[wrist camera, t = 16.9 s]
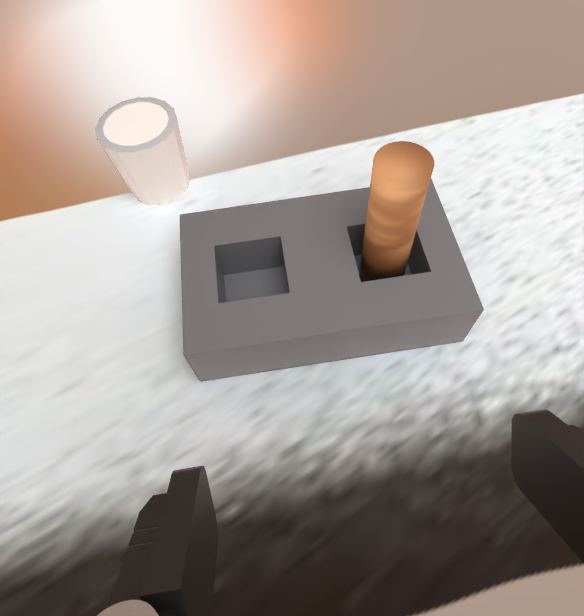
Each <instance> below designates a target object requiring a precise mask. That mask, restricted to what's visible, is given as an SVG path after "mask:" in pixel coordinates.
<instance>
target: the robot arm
mask: <svg viewBox="0 0 584 616" xmlns="http://www.w3.org/2000/svg"><path fill="white" fill-rule="evenodd" d="M511 465H512V472H513V475H514V478H515V481H516V483H517V485H518V487H519V488H520V490H521V491H522V492H523V493H524V495H525V496H526V497H527V498H528V499H529V500H530V502H531V503H532V504H533V505H534V506H535V507H536V508H537V510H538V511H539V512H540V513H541V514H542V515H543V517H544V518H545V519H546V520H547V521H548V522H549V524H550V525H551V526H552V527H553V528H554V529H555V530H556V532H557V533H558V534H559V535H560V536H561V537H562V539H563V540H564V541H565V542H566V543H567V544H568V545H569V547H570V548H571V549H572V550H573V551H574V552H575V554H576V555H577V556H578V557H579V558H580V559H581V560H582V562H583V563H584V430H583V429H580V428H578V427H576V426H573V425H569V426H568V425H567V424H565V423H564V422H563V421H562V420H560V419H559V418H558V417H556V416H555V415H554V414H553V413H551V412H550V411H548V410H546V409H541V410H536V411H530V412H524V413H518V414H515V415H514V416H513V418H512V456H511ZM217 543H218V532H217V521H216V515H215V511H214V506H213V501H212V497H211V492H210V488H209V483H208V479H207V474H206V471H205V468H204V466H198V467H193V468H187V469H181V470H175V471H173V473H172V475H171V479H170V483H169V487H168V491H167V493H165V494H159V495H153V496H152V498H151V499H150V500H149V501H148V502H147V504H146V505H145V506H144V507H143V509H142V510H141V511H140V512H139V515H138V518H137V521H136V524H135V527H134V533H133V534H132V537H131V540H130V543H129V549H127V552H126V555H125V558H124V561H123V564H122V567H121V570H120V573H119V576H118V579H117V582H116V585H115V588H114V591H113V594H112V597H111V600H110V603H109V606H108V608H107V609H105V610H104V611H102V612H101V613H100V614H98V615H97V616H211V611H212V600H213V588H214V577H215V566H216V555H217Z"/></svg>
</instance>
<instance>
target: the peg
mask: <svg viewBox="0 0 584 616" xmlns="http://www.w3.org/2000/svg"><path fill="white" fill-rule="evenodd" d="M433 168H434V159H433V157H432V155H431V154H430V152H429V151H428V150H427V149H425V148H424V147H422V146H420V145H418V144H415V143H412V142H405V141H399V142H392V143H389V144H387V145H384V146H383V147H381V148H380V149H379V150H378V151H377V152H376V154H375V156H374V160H373V168H372V176H371V184H370V193H369V201H368V209H367V217H366V225H365V233H364V241H363V249H362V258H361V266H360V274H359V277H360V280H361V282H365V281H372V280H379V279H385V278H392V277H399V276H404V273H405V270H406V266H407V262H408V259H409V255H410V252H411V248H412V244H413V241H414V237H415V233H416V230H417V226H418V222H419V219H420V215H421V211H422V208H423V204H424V201H425V197H426V193H427V190H428V186H429V182H430V179H431V175H432V171H433Z"/></svg>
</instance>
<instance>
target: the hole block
mask: <svg viewBox="0 0 584 616" xmlns="http://www.w3.org/2000/svg"><path fill="white" fill-rule="evenodd" d="M369 193H370V187H369V188H362V189H355V190H348V191H341V192H334V193H327V194H320V195H313V196H306V197H299V198H292V199H285V200H279V201H272V202H265V203H258V204H251V205H244V206H237V207H230V208H223V209H216V210H209V211H202V212H195V213H188V214H182V215H180V241H181V277H182V313H183V349H184V356H185V358H186V359H187V361H188V362H189V364H190V365H191V367H192V368H193V370H194V371H195V373H196V374H197V376H198V377H199V379H200V380H201V381H207V380H213V379H220V378H226V377H233V376H239V375H246V374H252V373H259V372H265V371H272V370H278V369H285V368H291V367H298V366H304V365H311V364H317V363H324V362H330V361H337V360H343V359H350V358H356V357H363V356H369V355H376V354H382V353H389V352H395V351H402V350H408V349H415V348H421V347H428V346H434V345H441V344H447V343H454V342H461V341H463V340H464V338H465V337H466V335H467V334H468V332H469V331H470V329H471V328H472V326H473V325H474V324H475V322H476V321H477V319H478V318H479V316H480V315H481V313H482V312H483V310H484V309H483V306H482V304H481V301H480V299H479V296H478V294H477V291H476V289H475V287H474V284H473V282H472V279H471V277H470V274H469V272H468V269H467V267H466V264H465V262H464V259H463V257H462V254H461V252H460V249H459V247H458V244H457V242H456V239H455V237H454V234H453V232H452V229H451V227H450V224H449V222H448V219H447V217H446V214H445V212H444V209H443V207H442V204H441V202H440V199H439V197H438V194H437V192H436V189H435V187H434V184H433V182H432V179H430V182H429V186H428V190H427V193H426V197H425V201H424V204H423V208H422V211H421V215H420V219H419V222H418V226H417V230H416V233H415V237H414V241H413V244H412V248H411V252H410V255H409V259H408V262H407V266H406V270H405V273H404V276H399V277H392V278H385V279H379V280H372V281H365V282H361V280H360V277H359V274H360V266H361V258H362V249H363V241H364V233H365V225H366V217H367V209H368V201H369Z"/></svg>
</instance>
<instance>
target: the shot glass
mask: <svg viewBox="0 0 584 616" xmlns="http://www.w3.org/2000/svg"><path fill="white" fill-rule="evenodd" d="M95 130H96V135H97V140H98V141H99V143H100V144H101V146H102V147H103V149H104V150H105V152H106V153H107V155H108V156H109V158H110V159H111V161H112V162H113V164H114V165H115V167H116V168H117V170H118V171H119V173H120V174H121V176H122V178H123V179H124V181H125V182H126V183H127V185H128V187H129V188H130V190H131V191H132V193H133V194H134V195H135V196H136V197H137V198H138V199H139V201H141V202H144V203H147V204H149V205H162V204H165V203H169V202H172V201H174V200H175V199H177V198H178V197H180V196H181V195H182V194H183V193H184V192H185V190H186V189H187V188H188V185H189V180H190V178H189V173H188V168H187V164H186V159H185V155H184V150H183V145H182V140H181V136H180V131H179V127H178V121H177V118H176V114H175V111H174V108H172V107H171V106H170V105H169V104H167V103H166V102H165V101H162V100H159V99H156V98H134V99H130V100H126V101H123V102H121V103H119V104H117V105H115V106H113V107H111V108H110V109H108V110H107V111H106V112H105V114H103V116H101V118H100V119H99V121H98V124H97V126H96V129H95Z"/></svg>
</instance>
